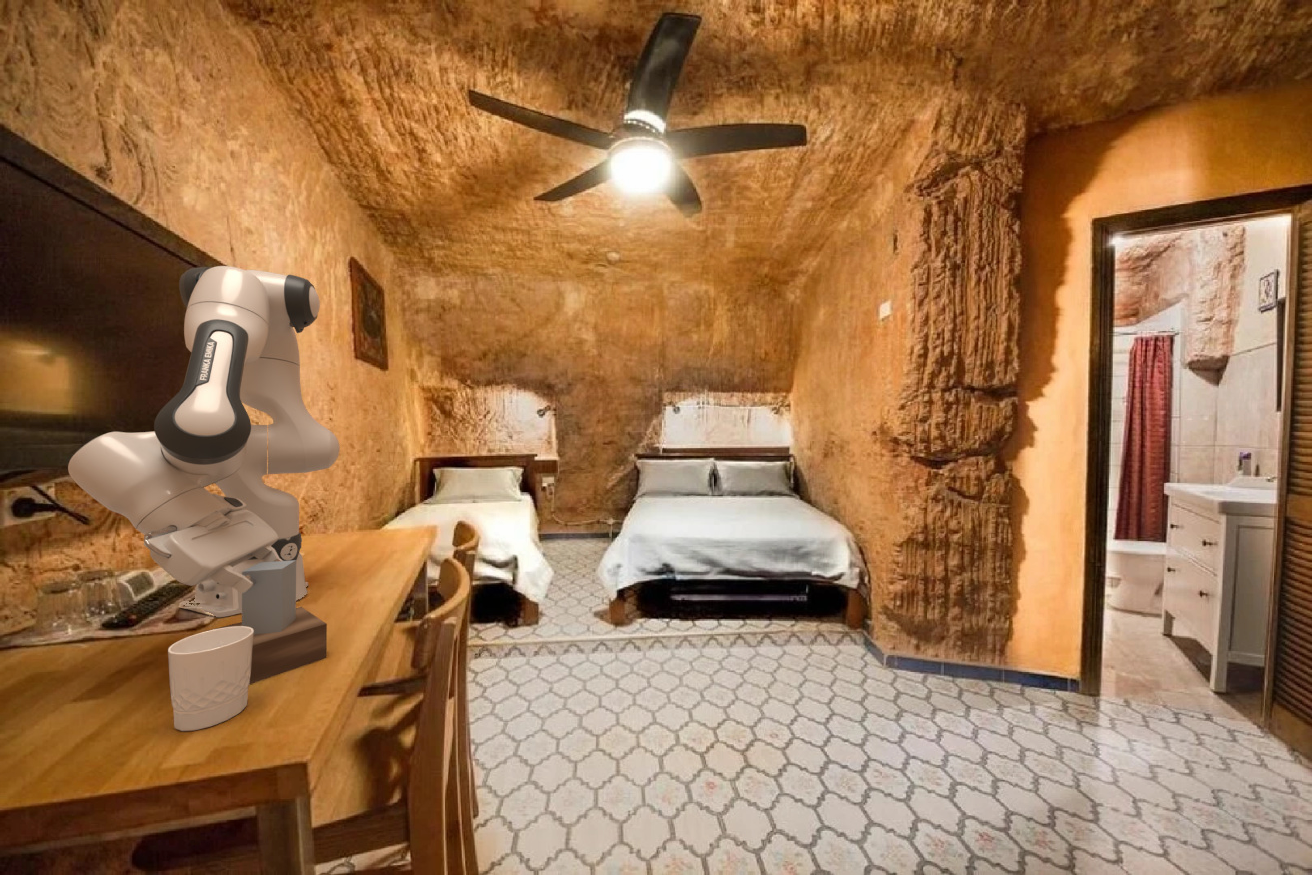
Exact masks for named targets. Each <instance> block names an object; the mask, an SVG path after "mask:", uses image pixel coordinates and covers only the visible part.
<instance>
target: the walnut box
mask: <svg viewBox="0 0 1312 875" xmlns="http://www.w3.org/2000/svg"><path fill="white" fill-rule="evenodd" d="M234 626H242V621H241V622H236V623H232V624H228V625H225V626H221V627H216V628H213V629H211V630H214V629H219V628H225V627H234ZM327 626H328V624H327V623H326V622H325V621H323V620H322V619H321V618H319V617H318V616H316V615H314V614H313V613H311V612H310V611H309V610H307V609H305V608H304V607H302V606H298V607H296V619H295V620H294V621H293V622H292V623H290V624H289V625H288V626H287V627H286V628H285V629H284V630H283V631H281V632H274V633H265V634H256V635H253V649H252V664H251V675H250V683H249V685H252V684H255V683H257V682H260V681H264V680H266V679H269V678H273V677H275V676H278V675H281V674H283V673H287V672H290V671H292V670H296V669H298V668H301V667H304V666H307V665H310V664H313V663H315V662H318V661H322V660H324V659H327V650H328V649H327V648H328V646H327V645H328V644H327V642H328V641H327V640H328V639H327V638H328V637H327V636H328V635H327V634H328V633H327V631H328V628H327ZM209 630H210V629H209ZM209 630H207V631H209Z"/></svg>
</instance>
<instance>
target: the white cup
mask: <svg viewBox="0 0 1312 875" xmlns="http://www.w3.org/2000/svg"><path fill="white" fill-rule="evenodd" d="M218 628H219V629H216V628H213V629H214V630H212V629H209V631H208V630H207V631H202V632H199V633H195V634H193V635H189V636H186V637H184V638H182V639H179V640H178V641H176V642H174V643H173V644H171V645H170V646H168V648H167V657H168V658H167V659H168V674H169V675H168V676H169V677H168V678H169V688H170V699H171V706H172V708H173V709H172V711H173V726H174V729H175V730H178V731H180V732H189V731H190V732H191V731H199V730H201V729H206V728H210V727H214V726H215V725H219V724H221V723H224V722H226V721H228V720H230V719H233V717H235V716H237V715H238V714H240V713H241V712H242V711H243V710H244V709H245V708H246V707H247V706H248V696H249V686H250V684H249V683H250V675H251V664H252V649H253V634H254V630H253V628H251V627H246V626H234V627H225V628H220V627H218Z"/></svg>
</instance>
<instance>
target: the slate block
mask: <svg viewBox="0 0 1312 875" xmlns="http://www.w3.org/2000/svg"><path fill="white" fill-rule="evenodd" d="M242 575H244V576H247V575H249V576H251V577H252V578H253V579H255V580H256V582H257V583H256V584H255V585H254V586H253V587H252V588H251V589H249V590H248V591H246V592H244V593H242V613H241V622H242V626H246V627H251V628H253V630H254V634H253V635H256V634H265V633H274V632H281V631H283V630H284V629H285V628H286V627H287V626H288V625H289V624H290V623H292V622H293V621H294V620H295V619H296V608H297V606H296V605H297V600H296V560H291V561H276V562H261V563H258V564H256V565H254V566H252V567H250V568H248V569H246V570H244V571H243V572H242Z"/></svg>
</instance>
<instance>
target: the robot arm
mask: <svg viewBox="0 0 1312 875" xmlns="http://www.w3.org/2000/svg"><path fill="white" fill-rule="evenodd" d="M178 281H179V282H178V284H179V285H178V288H179V293H180V298H181V301H182V303H183V305H184V306H185V308H186V312H185V316H184V324H183V326H184V327H183V331H184V332H183V334H184V342H185V347H186V349H187V350H188V351H189V352H190V353H191V354H190V356H189V361H188V365H187V369H186V372H185V377H184V380H183V381H184V382H183V384H182V387H181V388H180V390H179V391H178V392H177V393H176V395H174V397H172V398H171V399H170V400H169V401H168V402H167V403H166V404H165V405H164V406H163V407H162V408H161V409H160V410H159V412H158V413H157V415H156V417H155V420H154V424H153V430H154V431H145V432H144V431H143V432H141V431H140V432H123V431H111V432H107V433H104V434H101V435H98V436H96V437H94V438H92V439H90V440H89V441H87V442H85V443H84V444H83V445H82V446H80V447H79V448H78V449H77V450H76V451H75V453H73V455H72V456H71V457H70V459H69V462H68V465H67V470H68V474H69V476H70V477H71V479H72V480H73V481H74V482H75V483H76V485H78V486H79V488H81V489H82V490H83V491H84V492H85V493H87V495H89V496H90V497H91V498H93V499H94V500H95V501H97V502H98V504H99V503H100V505H102V506H103V507H105V508H106V509H107V510H109V511H111V512H113V513H117V514H119V515H122V516H124V517H125V518H126V519H128V520H129V522H130V524H132V527H134V528H135V529H136V530H137V531H138V532H140V533H141V534H142V535H144V536H143V546H144V547H145V548H147V549H148V550H149V555H150V556H149V557H150V558H152V560H153V562H155V564H157V565H158V566H159V567H160V568H162V570H164V572H166V573H167V574H169V575H170V576H171V577H172V578H173V579H175V580H176V581H177V582H179V583H180V584H183V585H187V586H189V587H194V586H195V592H194V593H195V595H194V596H195V599H194V601H195V602H194V601H191V602H189V601H184V600H182V601H181V602H179V604H181V605H185V606H191V607H202V608H200V609H202V610H204V611H205V612H209V613H211V614H213V615H214V616H216V617H215V618H223V617H229V616H234V615H237V614H242V593H244V592H246V591H248V590H249V589H251V588H252V587H253V586H254V585H255V584H256V583H257V582H256V580H255V579H253V578H252V577H251V576H249V575H247V576H244V575H242V572H243V571H244V570H246V569H248V568H250V567H252V566H254V565H256V564H258V563H261V562H276V561H291V560H296V601H298V599H299V600H301V599H303V598H304V597H305V596H304V595H306V594H307V595H308V593H307V592H308V588H307V589H306V587H307V586H308V587H309V582H308V581H306V578H305V577H306V576H305V569H304V561H303V554H301V553H300V550H301V549H302V542H303V538H302V533H301V532H300V502H299V500H298V499H297V497H295V495H293V494H291V493H289V492H286V491H284V490H282V489H279V488H275V487H272V486H269V485H267V484H266V483H265V482H264V481H263V476H266V475H277V474H279V475H280V474H281V475H282V474H305V473H311V472H316V471H322V470H327V469H330V468H331V467H332V466H333V465H334V464H335V462H336V461H337V459H338V457H339V454H340V448H341V447H340V446H341V445H340V442H339V439H338V438H337V435H336V434H334V433H333V431H332V430H330V429H329V428H327V427H326V426H324V425H322V424H320V423H319V422H318V421H317V420H316V419H315V418H314V417H313V416H312V415H311V413H309V410H308V409H307V408H306V405H305V402H304V401H303V396H302V390H301V364H300V363H301V359H300V351H299V344H298V340H297V334H300V333H302V332H303V331H304V330H305V328H307V327H309V326H311V325H312V324H314V322H315V321H316V319H317V318H318V314H319V312H320V307H321V302H320V298H319V294H318V292H317V291H316V288H315V285H313V283H311V281H309V280H308V279H306V278H304V277H301V276H297V275H293V274H281V273H277V272H272V271H271V272H270V271H264V270H258V269H242V268H239V267H236V266H230V265H218V266H214V267H210V266H202V267H201V266H200V267H198V266H197V267H192V268H189V269H188V270H186V271H184V273H182V274H181V276H180V278H179V280H178ZM296 333H297V334H296ZM244 405H246V406H247V407H249V408H252V409H254V410H257V411H260V412H263V413H264V414H266V415H268V416H270V418H271V419H272V423H269V424H252V422H251V419H250V416H249V414H248V412H247V410H246V409H245V406H244ZM213 484H214V485H216V486H217V487H218V489H220V491H222V493H223V495H224V496H223V495H219V494H217V493H211V492H210V491H208V490H207V488H206V487H208V486H211V485H213ZM307 595H306V596H307ZM302 597H303V598H302ZM186 603H187V604H186ZM189 603H200V604H199V605H198V606H197V605H195V606H194V605H193V604H192V605H191V604H189ZM179 604H178V605H179ZM214 616H213V617H214Z"/></svg>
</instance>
